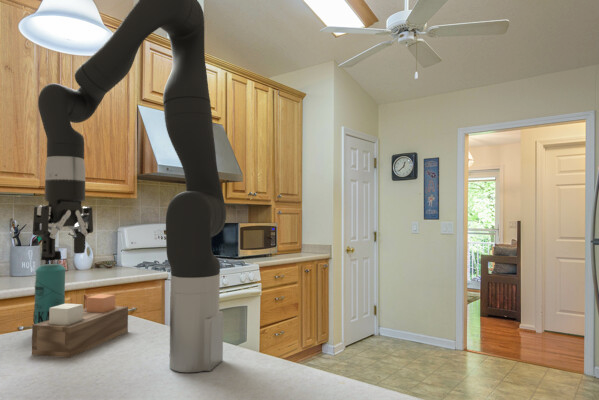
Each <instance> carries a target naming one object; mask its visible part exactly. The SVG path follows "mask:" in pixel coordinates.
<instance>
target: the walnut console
mask: <svg viewBox="0 0 599 400" xmlns="http://www.w3.org/2000/svg"><path fill="white" fill-rule="evenodd" d="M31 328H32V331H31V332H32V333H31V355H32V356H33V355H34V356H41V357H42V356H45V357H56V358H68V359H71V358H73V357H74V356H77V355H79V354H81V353H83V352H86V351H88V350H91V349H92V348H94V347H97V346H99V345H101V344H104V343H105V342H108V341H110V340H112V339H114V338H116V337H118V336H120V335H124V334H125V333H127V332H128V331H129V307H128V306H118V305H115V309H113V310H110V311H107V312H104V313H100V312H87V307H86V308H83V320H81V321H78V322H75V323H72V324H70V325H57V324H49V320H47V321H44V322H41V323H37V324H34V323H33V324H32V327H31Z"/></svg>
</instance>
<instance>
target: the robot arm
mask: <svg viewBox="0 0 599 400" xmlns="http://www.w3.org/2000/svg"><path fill="white" fill-rule="evenodd" d="M158 29H161V30H163V31H164V32H165V33H166V34H167V35H168V38H169V43H170V49H171V57H172V63H171V64H172V65H171V70H170V74H169V75H168V78H167V80H166V83H165V85H164V89H163V96H162V105H163V114H164V123H165V128H166V132H167V136H168V138H169V140H170V143H171V145H172V147H173V149H174V151H175V153H176V155H177V158H178V159H179V163H180V165H181V167H182V169H183V173H184V179H185V189H186V190H185V191H182V192H180V193H178V194H176V195H174V197H173V198H172V199H171V200H170V201H169V204H168V206H167V209H166V215H165V240H166V241H165V242H166V258H167V261H168V263H169V266H170V299H169V300H170V303H169V304H170V306H169V307H170V309H169V313H170V314H169V368H170V369H171V370H172V371H175V372H180V373H197V372H210V371H212V370H214V368H216V367H217V366H218V365H219V364H220V363H221V362H222V361H223V358H224V356H223V355H224V354H223V353H224V347H223V346H224V345H223V344H224V312H223V311H222V310H221V311H220V286H221V284H220V281H221V280H220V279H221V278H220V277H221V276H220V275H221V263H220V260H219V258H217V257H216V256H215V255H214V253H213V250H212V238H213V237H214V236H217V235H218V234H219V233H221V231H222V230H223V228H224V227H225V224H226V220H227V210H226V208H227V207H226V203H225V202H226V201H225V198H224V194H223V190H222V186H221V181H220V175H219V169H218V164H217V152H216V145H215V144H216V143H215V134H214V125H213V114H212V106H211V105H212V104H211V98H210V90H209V81H208V73H207V67H206V66H207V65H206V56H205V53H206V51H205V49H206V48H205V14H204V11H203V8H202V5H201V3H200V2H199V1H198V0H138V1H137V2H136V3H135V5H134V6H133V7H132V8H131V10H130V11H129V12H128V14H127V15H126V16H125V18H124V19H123V20H122V22H121V23H120V24H119V26H118V27H117V28H116V30H114V32H113V33H112V34H111V36H110V37H109V38H108V39H107V41H106V42H105V43H104V44H103V45H102V46H101V47H100V48H99V49H97V50H96V52H94V53H93V54H92V55H91V56H90V57H89V58H88V59H87V60H85V61H84V62H83V63H82V64H81V65H80V66H79V67H78V68H77V69H76V71H75V72H74V80H75V82H76V83H77V85H78V86H79V87H78V89H73V88H70V87H68V86H66V85H62V84H60V83H55V82H53V83H48V84H47V85H45V86H44V87H43V88H42V89H41V91H40V92H39V95H38V101H37V105H38V112H39V115H40V118H41V119H40V120H41V122H42V125H43V130H44V132H45V135H46V140H47V141H46V162H45V167H44V168H45V172H44V173H45V174H44V176H45V177H44V200H45V201H46V202H48V203H47V204H48V205H35V206H34V207H33V218H32V219H33V220H32V221H33V223H32V235H33V236H37V237H39V238H41V255H42V254H43V256H44V257H54V256H55V251H56V238H55V237H56V235H57V234H58V231H60V230H61V229H62V228H63V227H68V228H69V229H70V230H71V232H73V235H74V237H73V252H74V254H84V253H85V251H86V237H87V236H88V234H92V233H93V232H94V220H93V207H92V206H82V202H84V201H85V200H86V164H85V138H84V136H83V134H81V133H80V132H78V131H77V130H76V129H74V128H73V126H72V123H73V124H79V123H83V122H85V121H87V120H89V119H90V118H91V117H92V116H93V115H94V114H95V112H96V110H97V109H98V107H99V105H100V104H101V102H102V101H103V99H104V98H105V96H106V94H107V93H108V92H110V91H111V90H112V89H113V88H114V87H116V85H118V84H119V83H121V81H122V80H123V79H124V78H126V76H127V75H128V73H129V72H130V71H131V69H132V67H133V65H134V62H135V59H136V56H137V53H138V51H139V49H140V47H141V45H142V44H143V43H144V41H146V39H147V38H148V37H149V36H150V35H151V34H153V33H154V32H156V31H157V30H158ZM86 224H87V225H86Z"/></svg>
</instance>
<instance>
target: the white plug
mask: <svg viewBox="0 0 599 400" xmlns="http://www.w3.org/2000/svg"><path fill="white" fill-rule="evenodd" d="M83 309H84V304H81V303H79V304H78V303H66V302H65V304H62V305H58V306H55V307H51V308H49V324H57V325H70V324H72V323H75V322H78V321H81V320H83Z"/></svg>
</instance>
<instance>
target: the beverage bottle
mask: <svg viewBox="0 0 599 400" xmlns="http://www.w3.org/2000/svg"><path fill="white" fill-rule="evenodd" d="M40 260H41V261H56V260H57V261H58V260H62V252H61V250H55V256H54V257H44V256H43V254H42V253H41V258H40ZM65 289H66V267H65V266H64V265H62V264H59V263H50V264H48V263H47V264H41V265H40V266H38V267H37V268H36V269H35V283H34V294H33V295H34V304H33V308H34V310H33V317H32V318H33V325H34V324H37V323H41V322H44V321H47V320H49V308H51V307H55V306H58V305H62V304H65V303H66V302H65V301H66V295H65V294H66V293H65V292H66V291H65Z"/></svg>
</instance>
